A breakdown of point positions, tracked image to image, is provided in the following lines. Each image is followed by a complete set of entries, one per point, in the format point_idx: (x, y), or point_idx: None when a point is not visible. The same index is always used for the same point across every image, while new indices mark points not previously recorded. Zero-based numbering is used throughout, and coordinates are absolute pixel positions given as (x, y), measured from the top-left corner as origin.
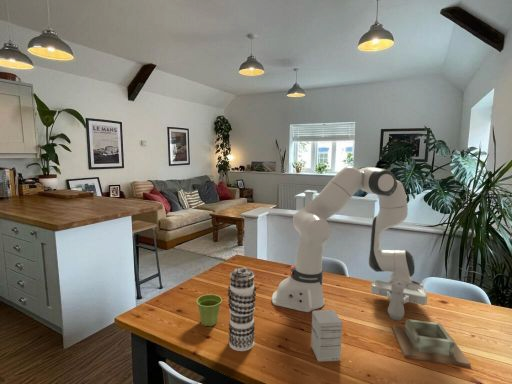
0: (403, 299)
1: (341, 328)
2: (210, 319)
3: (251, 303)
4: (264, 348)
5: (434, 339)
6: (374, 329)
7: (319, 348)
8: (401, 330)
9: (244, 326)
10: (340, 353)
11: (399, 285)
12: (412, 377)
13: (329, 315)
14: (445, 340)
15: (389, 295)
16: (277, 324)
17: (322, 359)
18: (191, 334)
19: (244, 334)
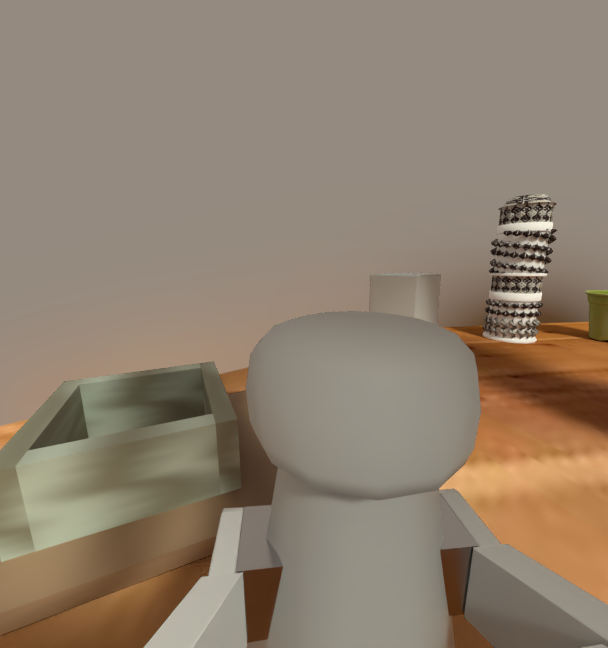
0: (249, 509)
1: (370, 288)
2: (589, 322)
3: (500, 258)
4: (474, 341)
5: (145, 372)
6: None
7: None
8: (260, 482)
9: (489, 293)
10: None
11: (333, 326)
12: (235, 372)
13: (403, 273)
14: (99, 378)
15: (457, 504)
16: (564, 368)
17: None
18: (564, 329)
19: (487, 307)
